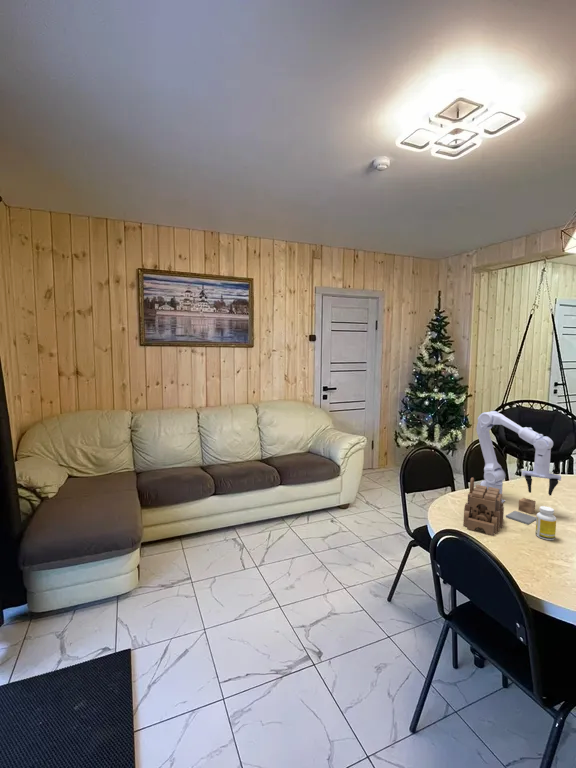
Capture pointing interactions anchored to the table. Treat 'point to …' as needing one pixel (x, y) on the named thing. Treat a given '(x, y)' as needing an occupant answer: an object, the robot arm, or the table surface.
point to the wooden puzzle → (484, 509)
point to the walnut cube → (527, 505)
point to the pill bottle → (546, 523)
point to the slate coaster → (521, 517)
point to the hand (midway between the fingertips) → (539, 493)
